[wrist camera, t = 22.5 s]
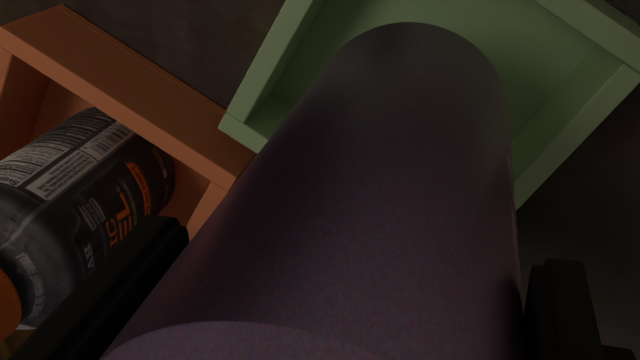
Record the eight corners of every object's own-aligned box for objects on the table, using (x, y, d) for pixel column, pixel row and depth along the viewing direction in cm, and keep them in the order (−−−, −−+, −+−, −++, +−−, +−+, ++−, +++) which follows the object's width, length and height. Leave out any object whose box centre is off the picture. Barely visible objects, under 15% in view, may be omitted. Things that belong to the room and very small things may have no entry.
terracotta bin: (62, 3, 27) (-2, 25, 23) (268, 137, 27) (236, 178, 24) (6, 176, 32) (-52, 215, 29) (179, 284, 33) (143, 335, 29)
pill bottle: (171, 231, 30) (22, 409, 21) (63, 192, 31) (-133, 348, 21) (186, 126, 27) (19, 277, 18) (66, 85, 28) (-161, 210, 18)
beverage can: (321, 8, 19) (-50, 350, 6) (524, 25, 18) (618, 497, 5) (317, 180, 22) (61, 664, 9) (491, 204, 20) (493, 806, 8)
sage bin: (386, -150, 21) (365, -150, 17) (638, 24, 22) (666, 56, 18) (252, 92, 26) (216, 128, 23) (455, 225, 27) (450, 279, 24)
